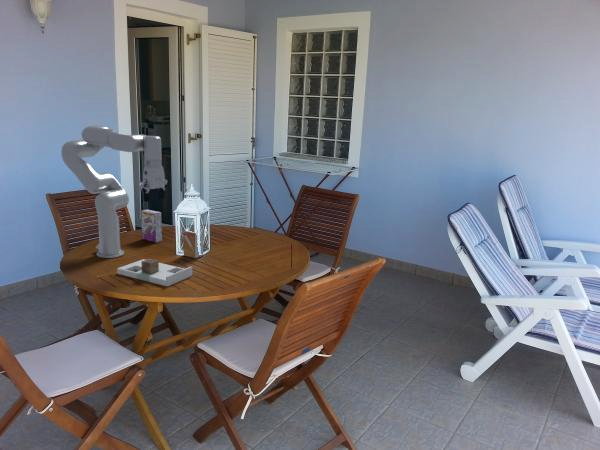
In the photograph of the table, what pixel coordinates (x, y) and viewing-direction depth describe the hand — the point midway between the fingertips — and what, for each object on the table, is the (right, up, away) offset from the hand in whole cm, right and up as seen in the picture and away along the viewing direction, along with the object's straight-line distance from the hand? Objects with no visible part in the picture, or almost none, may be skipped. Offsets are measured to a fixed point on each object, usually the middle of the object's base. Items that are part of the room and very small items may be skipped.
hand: (154, 200), depth 227 cm
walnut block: (+3, -32, -14) cm, 35 cm away
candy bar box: (-14, -20, +43) cm, 49 cm away
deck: (+3, -34, -10) cm, 35 cm away
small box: (+14, -27, +19) cm, 36 cm away
